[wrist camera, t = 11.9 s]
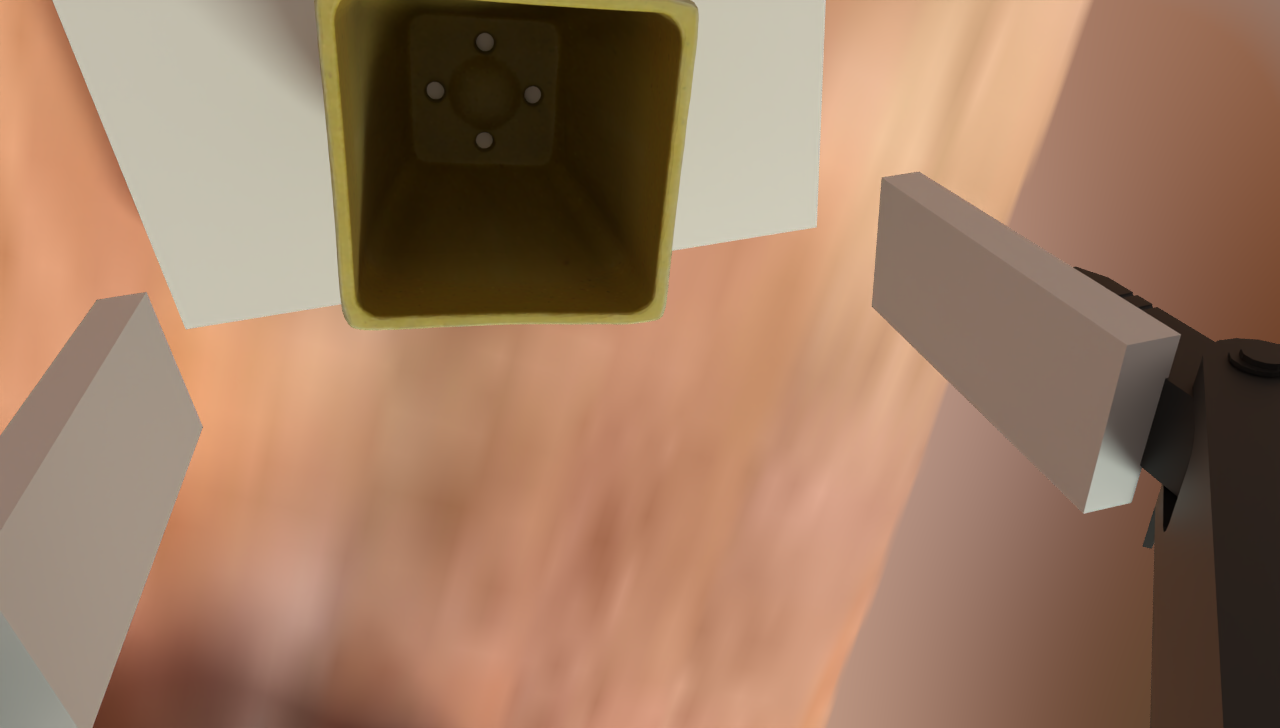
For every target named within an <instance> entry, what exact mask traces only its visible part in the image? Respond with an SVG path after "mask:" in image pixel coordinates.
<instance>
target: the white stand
mask: <svg viewBox="0 0 1280 728" xmlns="http://www.w3.org/2000/svg"><path fill="white" fill-rule="evenodd" d="M691 1H693V2H694V3H695V4H696V6H697V7H698V13H699V22H698V39H697V48H696V56H695V63H694V71H693V80H692V89H691V98H690V104H689V111H688V119H687V127H686V136H685V146H684V153H683V160H682V168H681V176H680V185H679V194H678V201H677V209H676V218H675V227H674V236H673V246H672V251H673V250H679V249H685V248H692V247H698V246H704V245H710V244H716V243H723V242H729V241H735V240H741V239H747V238H753V237H760V236H766V235H772V234H778V233H784V232H791V231H797V230H803V229H809V228H815V227H817V206H818V181H819V155H820V130H821V105H822V80H823V55H824V29H825V4H826V0H691ZM53 3H54V5H55V8H56V10H57V13H58V15H59V18H60V20H61V23H62V25H63V28H64V30H65V33H66V35H67V37H68V40H69V42H70V45H71V47H72V50H73V52H74V55H75V57H76V60H77V62H78V65H79V67H80V70H81V72H82V74H83V77H84V79H85V82H86V84H87V87H88V89H89V92H90V94H91V97H92V99H93V102H94V104H95V107H96V109H97V112H98V114H99V116H100V119H101V121H102V124H103V126H104V129H105V131H106V134H107V136H108V139H109V141H110V144H111V146H112V149H113V151H114V153H115V156H116V158H117V161H118V163H119V166H120V168H121V171H122V173H123V176H124V178H125V181H126V183H127V186H128V188H129V190H130V193H131V195H132V198H133V200H134V203H135V205H136V208H137V210H138V213H139V215H140V218H141V220H142V223H143V225H144V227H145V230H146V232H147V235H148V237H149V240H150V242H151V245H152V247H153V250H154V252H155V255H156V257H157V260H158V262H159V264H160V267H161V269H162V272H163V274H164V277H165V279H166V282H167V284H168V287H169V289H170V292H171V294H172V297H173V299H174V301H175V304H176V306H177V309H178V311H179V314H180V316H181V319H182V321H183V324H184V326H185V329H191V328H197V327H203V326H209V325H215V324H222V323H228V322H234V321H240V320H246V319H252V318H259V317H265V316H271V315H277V314H283V313H290V312H296V311H302V310H308V309H314V308H321V307H327V306H333V305H339V304H341V298H340V289H339V277H338V262H337V247H336V232H335V219H334V208H333V195H332V184H331V172H330V162H329V152H328V140H327V130H326V119H325V109H324V98H323V88H322V79H321V70H320V61H319V51H318V40H317V27H316V19H315V7H314V0H53ZM476 44H477V46H478V48H479V49H481V50H482V51H489V50H490V49H492V47H493V45H494V40H493V38H492V36H491V35H489V34H487V33H482V34H480V35H479V36H478V37H477V40H476ZM427 93H428V95H429V96H430V97H431V98H432V99H440V98H441V97H442V96H443V94H444V88H443V86H442V85H441V84H440V83H438V82H432V83H430V84H429V85H428V87H427ZM524 96H525V99H526V100H527V101H528V102H529V103H536V102H538V101H539V99H540V97H541V92H540V90H539V89H538V88H537V87H534V86H531V87H529V88H527V89H526V91H525V93H524ZM492 141H493V139H492V136H491V135H490V134H489V133H486V132H483V133H480V134H479V135H478V136H477V138H476V143H477V144H478V146H479V147H481V148H488V147H490V145H491V144H492Z"/></svg>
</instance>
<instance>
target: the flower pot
mask: <svg viewBox="0 0 1280 728" xmlns="http://www.w3.org/2000/svg"><path fill="white" fill-rule="evenodd" d="M314 7H315V19H316V27H317V40H318V51H319V61H320V70H321V79H322V88H323V98H324V109H325V119H326V130H327V140H328V152H329V162H330V172H331V184H332V195H333V208H334V219H335V232H336V247H337V262H338V277H339V289H340V298H341V305H342V311H343V314H344V317H345V319H346V321H347V322H348V324H349V325H350V326H351V327H353V328H355V329H359V330H399V329H420V328H434V327H462V326H481V325H505V324H636V323H644V322H649V321H654V320H658V319H660V318H661V317H662V316H663V313H664V311H665V307H666V301H667V292H668V280H669V273H670V264H671V256H672V246H673V236H674V227H675V218H676V209H677V201H678V194H679V185H680V176H681V168H682V160H683V153H684V146H685V136H686V127H687V119H688V111H689V104H690V98H691V89H692V80H693V71H694V63H695V56H696V48H697V39H698V22H699V13H698V7H697V6H696V4H695V3H694V2H693V1H691V0H314ZM482 33H487V34H489V35H491V36H492V38H493V40H494V45H493V47H492V49H490V50H489V51H482V50H481V49H479V48H478V46H477V44H476V40H477V37H478V36H479V35H480V34H482ZM432 82H438V83H440V84H441V85H442V86H443V88H444V94H443V96H442V97H441V98H440V99H432V98H431V97H430V96H429V95H428V93H427V87H428V85H429V84H430V83H432ZM531 86H534V87H537V88H538V89H539V90H540V92H541V97H540V99H539V101H538V102H536V103H529V102H528V101H527V100H526V99H525V96H524V93H525V91H526V89H527V88H529V87H531ZM483 132H486V133H489V134H490V135H491V136H492V139H493V141H492V144H491V145H490V147H488V148H481V147H479V146H478V144H477V143H476V138H477V136H478V135H479V134H480V133H483Z"/></svg>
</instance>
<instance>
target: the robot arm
mask: <svg viewBox="0 0 1280 728" xmlns="http://www.w3.org/2000/svg"><path fill="white" fill-rule="evenodd" d="M872 307H873V308H874V309H875V310H876V311H877V312H878V313H879V314H880V315H881V316H882V317H883V318H884V319H885V320H886V321H887V322H888V323H889V324H890V325H891V326H892V327H893V328H894V329H895V330H896V331H897V332H898V333H900V334H901V335H902V336H903V337H904V338H905V339H906V340H907V341H908V342H909V343H910V344H911V345H912V346H913V347H914V348H915V349H916V350H917V351H918V352H919V353H920V354H921V355H922V356H923V357H924V358H925V359H926V360H927V361H928V362H929V363H930V364H931V365H932V366H933V367H934V368H935V369H936V370H937V371H938V372H939V373H940V374H941V375H942V376H943V377H944V378H945V379H946V380H948V381H949V382H950V383H951V384H952V385H953V386H954V387H955V388H956V389H957V390H958V391H959V392H960V393H961V394H962V395H963V396H964V397H965V398H966V399H967V400H968V401H969V402H970V403H971V404H972V405H973V406H974V407H975V408H976V409H977V410H978V411H979V412H980V413H981V414H982V415H983V416H984V417H985V418H986V419H987V420H988V421H989V422H990V423H992V424H993V426H995V427H996V428H997V429H998V430H999V431H1000V432H1001V433H1002V434H1003V435H1004V436H1005V437H1006V438H1007V439H1008V440H1009V441H1010V442H1011V443H1012V444H1013V445H1014V446H1015V447H1016V448H1017V449H1018V450H1019V451H1020V452H1021V453H1022V454H1023V455H1024V456H1025V457H1026V458H1027V459H1028V460H1029V461H1030V462H1031V463H1032V464H1033V465H1034V466H1036V468H1037V469H1038V470H1039V471H1040V472H1042V473H1043V474H1044V475H1045V476H1046V477H1047V478H1048V479H1049V480H1050V481H1051V482H1052V483H1053V484H1054V485H1055V486H1056V487H1057V488H1058V489H1059V490H1060V491H1061V492H1062V493H1063V494H1064V495H1065V496H1066V497H1067V498H1068V499H1069V500H1070V501H1071V502H1072V503H1073V504H1074V505H1075V506H1076V507H1077V508H1078V509H1079V510H1080V511H1081V512H1083V514H1084V513H1088V512H1092V511H1097V510H1101V509H1105V508H1110V507H1114V506H1119V505H1123V504H1127V503H1131V502H1132V499H1133V496H1134V492H1135V489H1136V486H1137V482H1138V479H1139V475H1140V472H1141V468H1144V469H1145V470H1146V471H1147V472H1149V473H1150V474H1151V475H1152V476H1153V477H1154V478H1156V479H1157V480H1158V481H1159V482H1161V483H1162V486H1161V489H1160V493H1159V496H1158V499H1157V502H1156V505H1155V509H1154V511H1153V515H1152V518H1151V521H1150V524H1149V528H1148V531H1147V534H1146V537H1145V540H1144V543H1143V547H1147V548H1152V546H1153V544H1154V546H1155V547H1154V585H1153V628H1152V629H1153V630H1152V673H1151V715H1150V717H1151V718H1150V728H1280V344H1275V343H1270V342H1266V341H1261V340H1253V339H1239V338H1235V339H1227V340H1219V341H1217V342H1214V341H1212V340H1211V339H1209V338H1207V337H1206V336H1204V335H1202V334H1201V333H1199V332H1198V331H1196V330H1194V329H1192V328H1191V327H1189V326H1187V325H1186V324H1184V323H1182V322H1181V321H1179V320H1178V319H1176V318H1174V317H1173V316H1171V315H1169V314H1168V313H1166V312H1164V311H1163V310H1161V309H1159V308H1158V307H1156V308H1153V307H1152V304H1151V303H1149V302H1148V301H1146V300H1144V299H1143V298H1141V297H1139V296H1138V295H1136V296H1133V292H1131V291H1130V290H1128V289H1126V288H1125V287H1123V286H1121V285H1120V284H1118V283H1116V282H1115V281H1113V280H1111V279H1110V278H1108V277H1105V276H1102V275H1099V274H1096V273H1093V272H1090V271H1087V270H1084V269H1081V268H1078V267H1072V266H1070V265H1068V264H1066V263H1065V262H1063V261H1062V260H1060V259H1059V258H1057V257H1055V256H1054V255H1052V254H1051V253H1049V252H1047V251H1046V250H1044V249H1043V248H1041V247H1039V246H1038V245H1036V244H1035V243H1033V242H1031V241H1030V240H1028V239H1026V238H1025V237H1023V236H1022V235H1020V234H1018V233H1017V232H1015V231H1013V230H1012V229H1010V228H1009V227H1007V226H1006V225H1004V224H1002V223H1001V222H999V221H998V220H996V219H994V218H993V217H991V216H989V215H988V214H986V213H985V212H983V211H981V210H980V209H978V208H977V207H975V206H973V205H972V204H970V203H969V202H967V201H965V200H964V199H962V198H961V197H959V196H957V195H956V194H954V193H952V192H951V191H949V190H948V189H946V188H944V187H943V186H941V185H940V184H938V183H936V182H935V181H933V180H932V179H930V178H928V177H927V176H925V175H924V174H922V173H920V172H914V173H908V174H901V175H895V176H888V177H882V181H881V194H880V207H879V220H878V233H877V246H876V259H875V272H874V285H873V298H872ZM202 428H203V426H202V424H201V421H200V419H199V417H198V414H197V412H196V409H195V407H194V405H193V402H192V400H191V397H190V395H189V393H188V390H187V388H186V386H185V383H184V381H183V378H182V376H181V374H180V371H179V369H178V366H177V364H176V362H175V359H174V357H173V355H172V352H171V350H170V347H169V345H168V343H167V340H166V338H165V335H164V333H163V331H162V328H161V326H160V323H159V321H158V319H157V316H156V314H155V312H154V309H153V307H152V304H151V302H150V300H149V297H148V295H147V292H144V293H137V294H131V295H124V296H118V297H112V298H105V299H99V300H96V302H95V303H94V305H93V306H92V307H91V309H90V310H89V312H88V313H87V315H86V316H85V317H84V319H83V320H82V322H81V323H80V324H79V326H78V327H77V329H76V330H75V331H74V333H73V334H72V336H71V337H70V338H69V340H68V341H67V343H66V344H65V345H64V347H63V348H62V350H61V351H60V352H59V354H58V355H57V357H56V358H55V359H54V361H53V362H52V364H51V365H50V367H49V368H48V369H47V371H46V372H45V374H44V375H43V376H42V378H41V379H40V381H39V382H38V383H37V385H36V386H35V388H34V389H33V390H32V392H31V393H30V395H29V396H28V397H27V399H26V400H25V402H24V403H23V404H22V406H21V407H20V409H19V410H18V411H17V413H16V414H15V416H14V417H13V418H12V420H11V421H10V423H9V424H8V426H7V427H6V428H5V430H4V431H3V433H2V434H1V435H0V728H92V727H93V725H94V722H95V719H96V716H97V714H98V711H99V708H100V706H101V703H102V700H103V697H104V695H105V692H106V689H107V687H108V684H109V681H110V678H111V676H112V673H113V670H114V667H115V665H116V662H117V659H118V657H119V654H120V651H121V648H122V646H123V643H124V640H125V638H126V635H127V632H128V629H129V627H130V624H131V621H132V618H133V616H134V613H135V610H136V608H137V605H138V602H139V599H140V597H141V594H142V591H143V589H144V586H145V583H146V580H147V578H148V575H149V572H150V569H151V567H152V564H153V561H154V559H155V556H156V553H157V550H158V548H159V545H160V542H161V540H162V537H163V534H164V531H165V529H166V526H167V523H168V520H169V518H170V515H171V512H172V510H173V507H174V504H175V501H176V499H177V496H178V493H179V491H180V488H181V485H182V482H183V480H184V477H185V474H186V471H187V469H188V466H189V463H190V461H191V458H192V455H193V452H194V450H195V447H196V444H197V442H198V439H199V436H200V433H201V431H202Z"/></svg>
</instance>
